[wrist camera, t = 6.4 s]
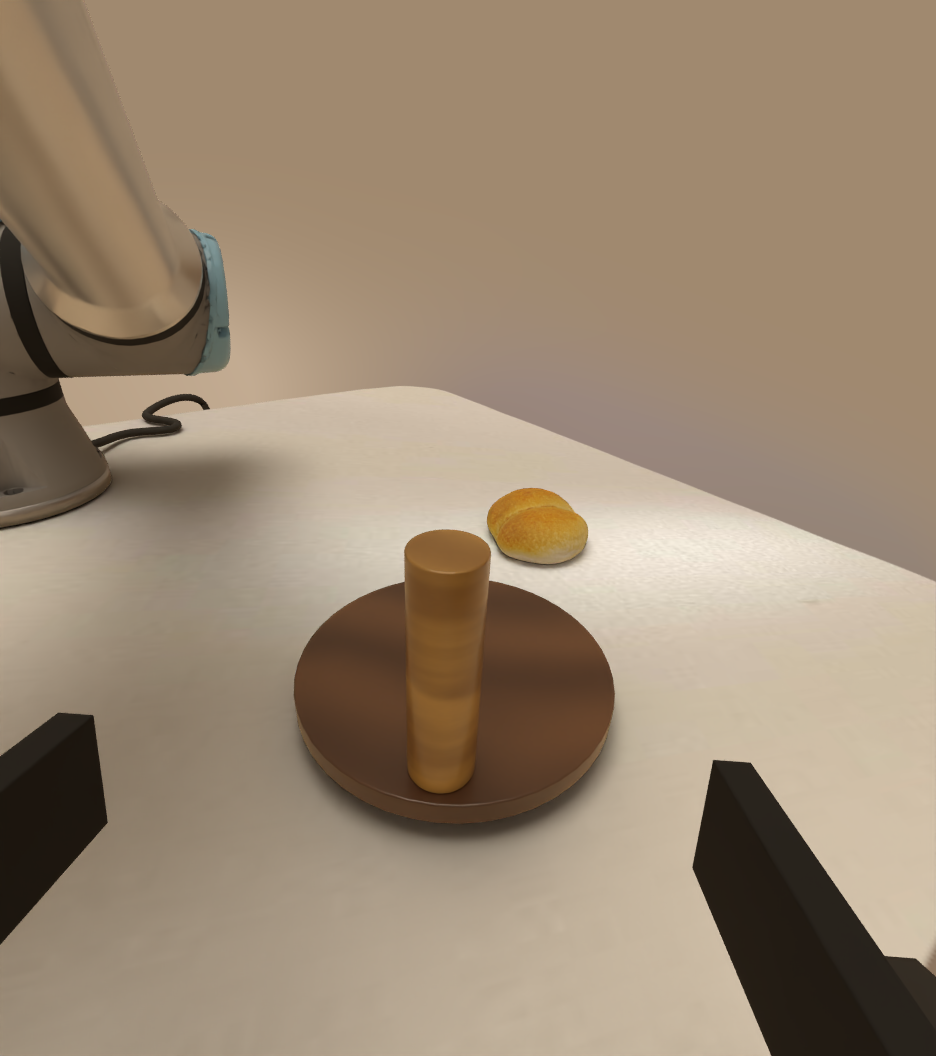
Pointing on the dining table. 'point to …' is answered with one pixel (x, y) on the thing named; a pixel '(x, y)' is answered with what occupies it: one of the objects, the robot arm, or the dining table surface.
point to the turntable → (453, 691)
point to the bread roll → (537, 527)
